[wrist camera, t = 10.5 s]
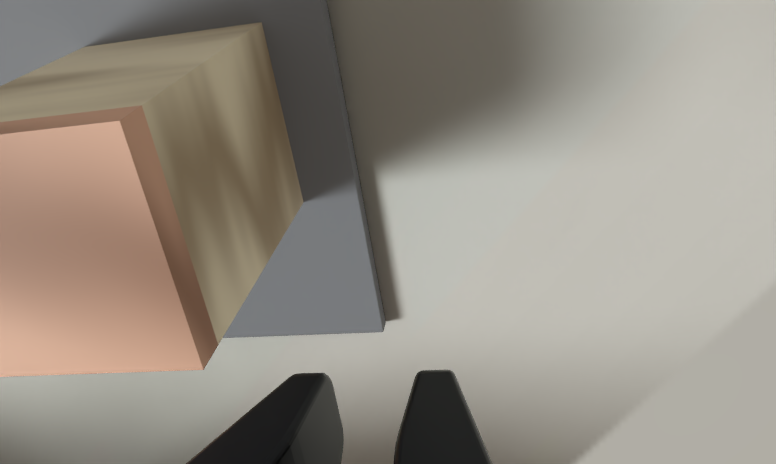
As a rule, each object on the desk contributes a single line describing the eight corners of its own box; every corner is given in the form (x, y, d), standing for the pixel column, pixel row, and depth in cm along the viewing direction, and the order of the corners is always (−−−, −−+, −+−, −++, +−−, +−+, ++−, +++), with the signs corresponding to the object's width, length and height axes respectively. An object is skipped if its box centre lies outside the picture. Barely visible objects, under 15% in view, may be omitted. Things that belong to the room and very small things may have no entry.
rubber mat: (385, 322, 23) (383, 332, 22) (-104, 341, 26) (-114, 350, 26) (270, -303, 16) (263, -307, 15) (-375, -157, 19) (-396, -156, 19)
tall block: (303, 202, 21) (203, 369, 14) (141, 215, 22) (-22, 377, 15) (261, 22, 18) (119, 120, 12) (84, 46, 19) (-137, 149, 13)
